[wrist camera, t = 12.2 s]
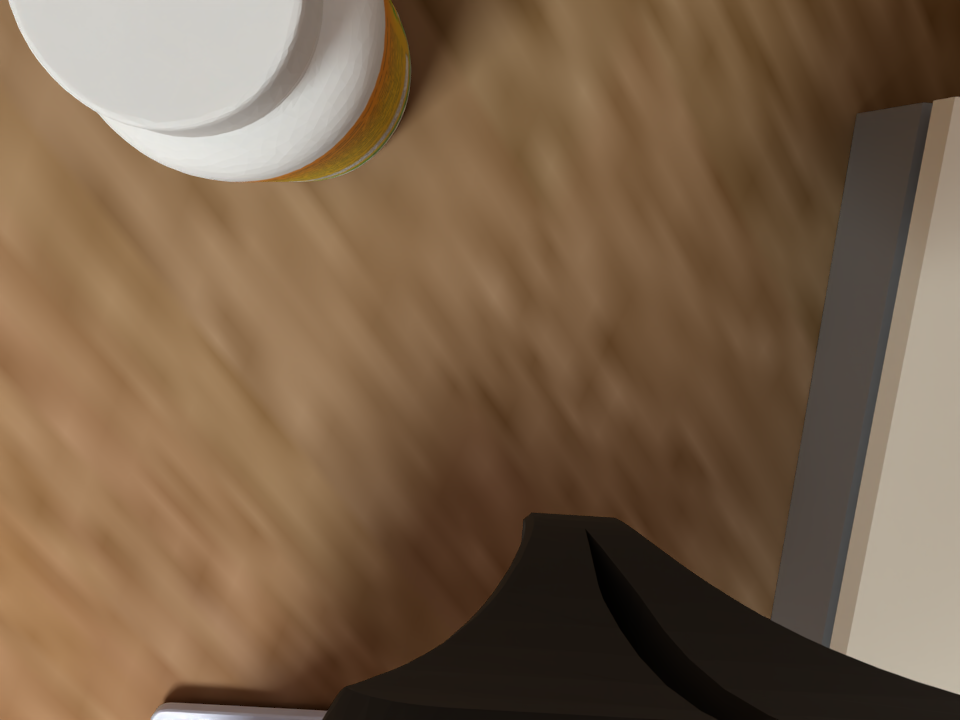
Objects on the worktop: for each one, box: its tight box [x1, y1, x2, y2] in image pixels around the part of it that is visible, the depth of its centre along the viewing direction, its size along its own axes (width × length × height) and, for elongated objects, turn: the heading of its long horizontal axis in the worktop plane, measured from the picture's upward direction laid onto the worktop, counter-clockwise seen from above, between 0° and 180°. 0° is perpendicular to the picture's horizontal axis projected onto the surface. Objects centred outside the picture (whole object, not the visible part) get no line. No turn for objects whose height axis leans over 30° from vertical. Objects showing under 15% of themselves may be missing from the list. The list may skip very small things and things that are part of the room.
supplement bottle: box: [9, 0, 411, 182], centre depth 15 cm, size 5×5×10 cm
